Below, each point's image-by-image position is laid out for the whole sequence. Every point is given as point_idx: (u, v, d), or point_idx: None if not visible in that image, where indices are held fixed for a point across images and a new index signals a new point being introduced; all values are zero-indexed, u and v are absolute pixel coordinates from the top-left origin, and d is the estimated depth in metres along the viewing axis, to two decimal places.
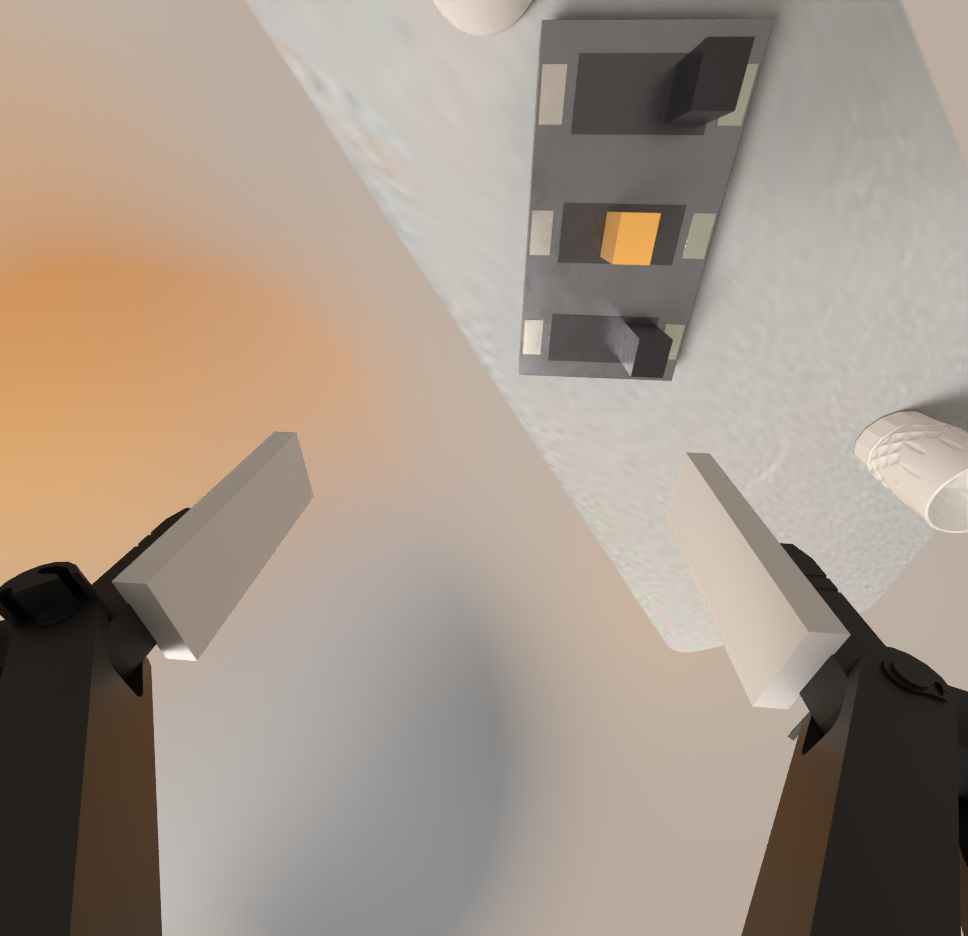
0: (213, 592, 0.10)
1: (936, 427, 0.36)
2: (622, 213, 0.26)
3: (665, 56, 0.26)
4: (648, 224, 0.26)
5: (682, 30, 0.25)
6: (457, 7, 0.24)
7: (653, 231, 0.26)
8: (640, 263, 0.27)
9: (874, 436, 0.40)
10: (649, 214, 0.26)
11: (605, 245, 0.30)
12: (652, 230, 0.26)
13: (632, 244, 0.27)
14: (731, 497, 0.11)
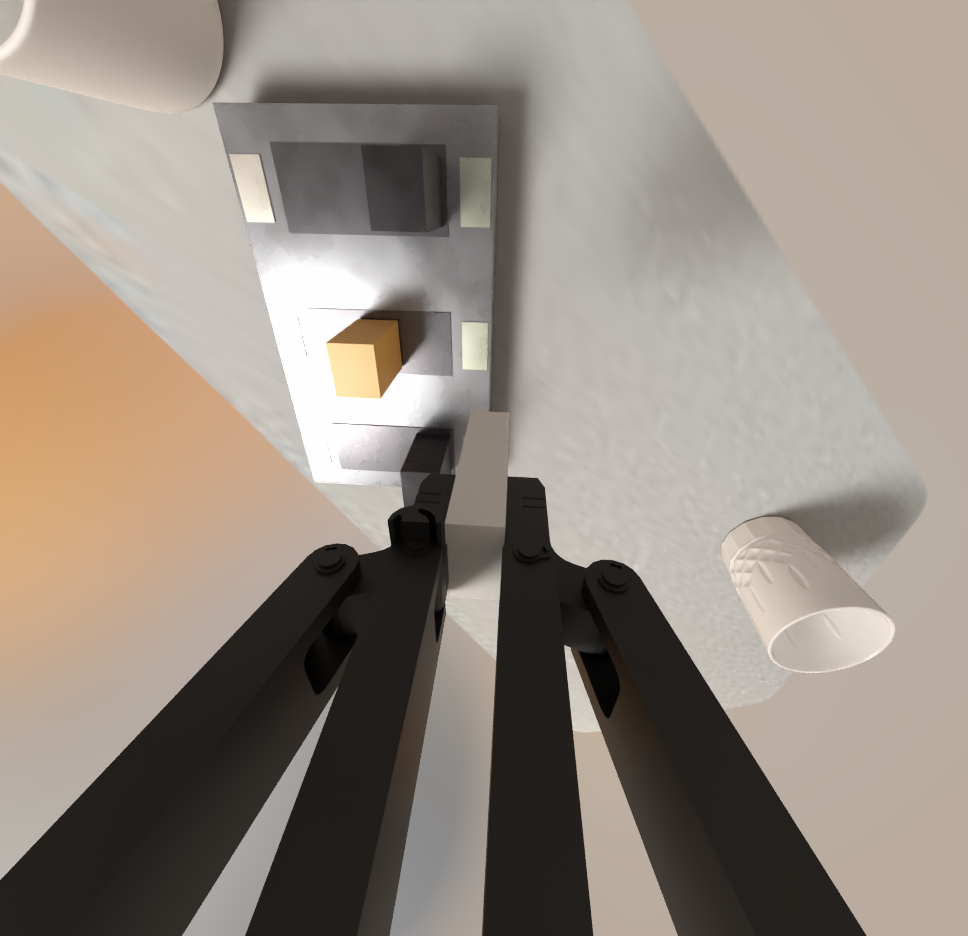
0: None
1: (791, 547, 0.32)
2: (327, 344, 0.21)
3: None
4: (362, 356, 0.21)
5: (388, 117, 0.20)
6: None
7: (371, 364, 0.21)
8: (369, 397, 0.22)
9: (734, 544, 0.35)
10: (360, 345, 0.21)
11: None
12: (370, 362, 0.21)
13: (351, 376, 0.21)
14: (498, 442, 0.13)
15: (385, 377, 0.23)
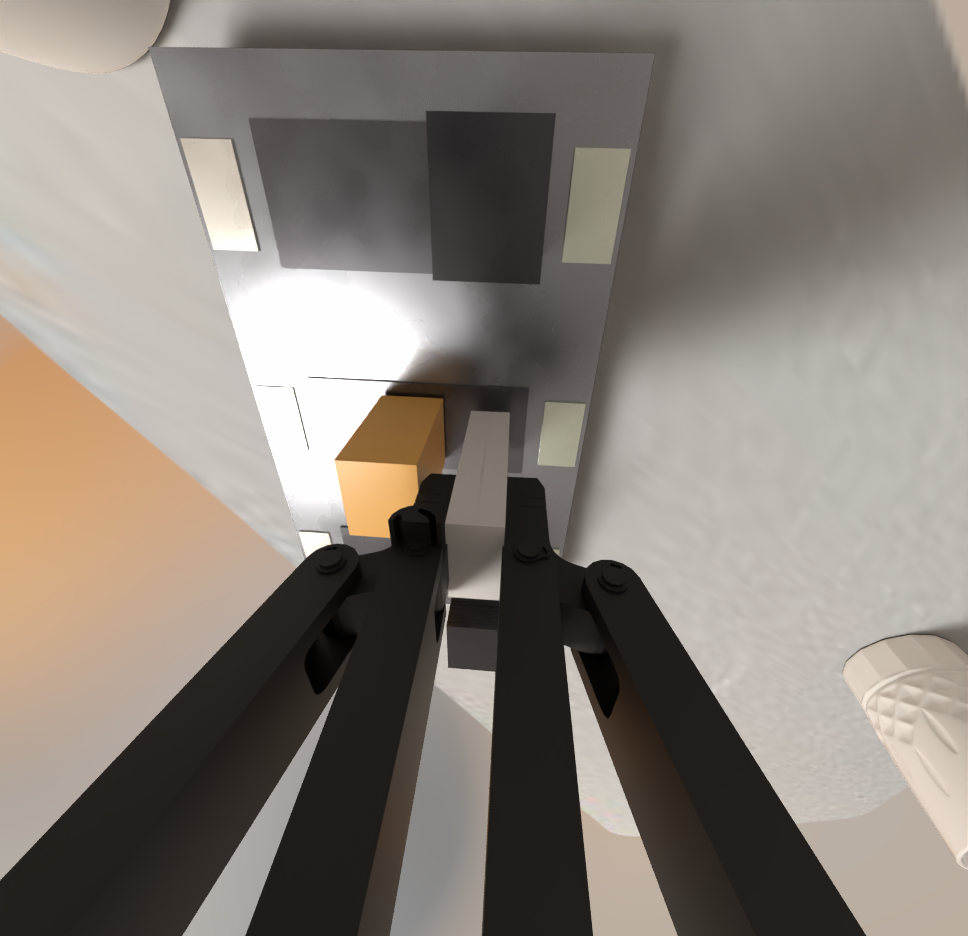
0: None
1: None
2: (336, 462, 0.12)
3: None
4: (397, 481, 0.12)
5: (456, 75, 0.11)
6: None
7: (411, 492, 0.12)
8: None
9: (873, 671, 0.26)
10: (393, 466, 0.12)
11: None
12: (408, 490, 0.12)
13: (376, 508, 0.13)
14: (498, 442, 0.13)
15: None
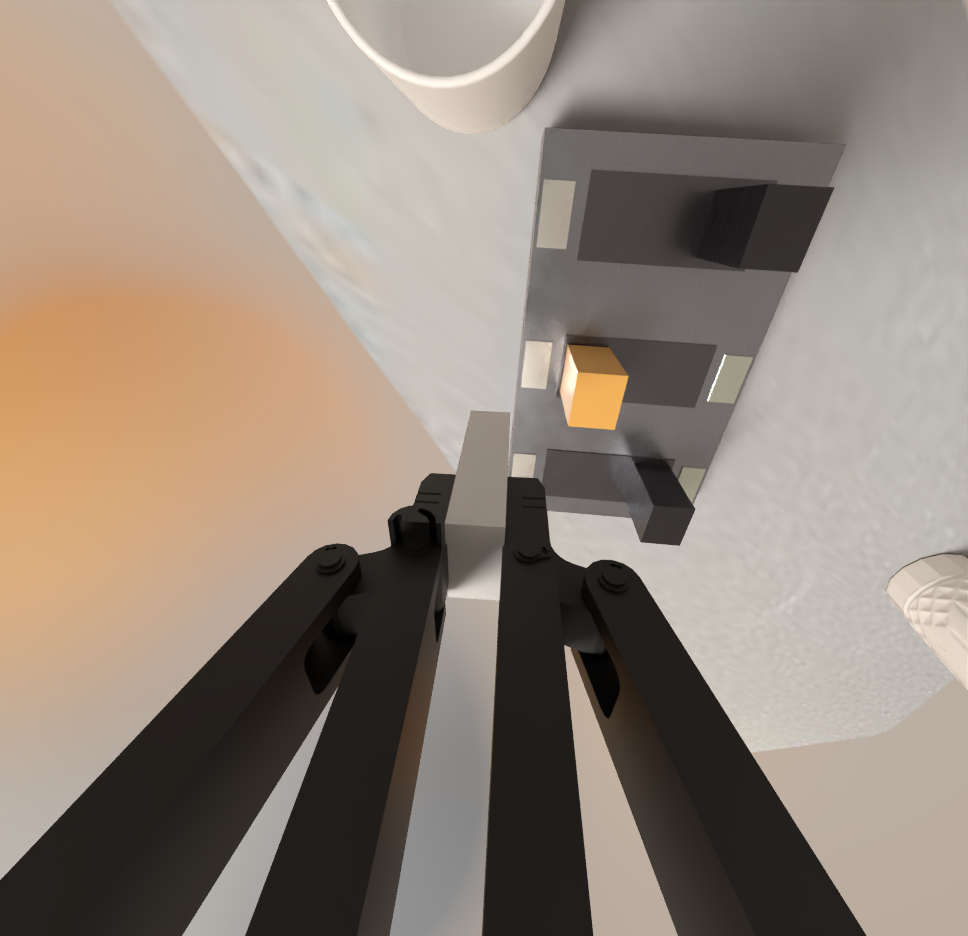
0: None
1: None
2: (579, 373, 0.20)
3: (701, 180, 0.20)
4: (612, 387, 0.20)
5: (726, 151, 0.19)
6: (431, 112, 0.18)
7: (619, 395, 0.20)
8: (603, 427, 0.21)
9: (913, 581, 0.35)
10: (613, 376, 0.20)
11: (564, 386, 0.24)
12: (617, 393, 0.20)
13: (592, 406, 0.21)
14: (498, 442, 0.13)
15: None
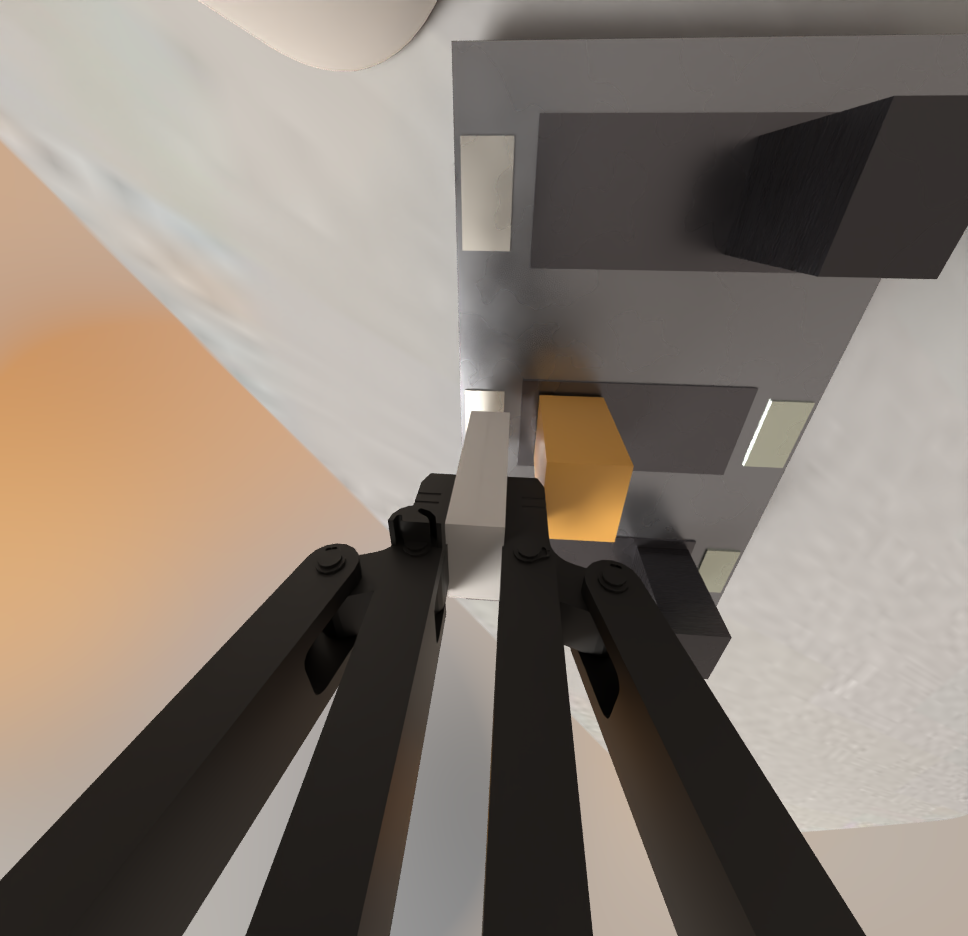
0: None
1: None
2: (549, 464, 0.12)
3: (732, 120, 0.11)
4: (607, 483, 0.12)
5: (777, 62, 0.11)
6: (226, 14, 0.09)
7: (619, 494, 0.12)
8: (595, 539, 0.13)
9: None
10: (608, 467, 0.12)
11: (536, 459, 0.16)
12: (616, 492, 0.12)
13: (575, 510, 0.13)
14: (498, 442, 0.13)
15: None
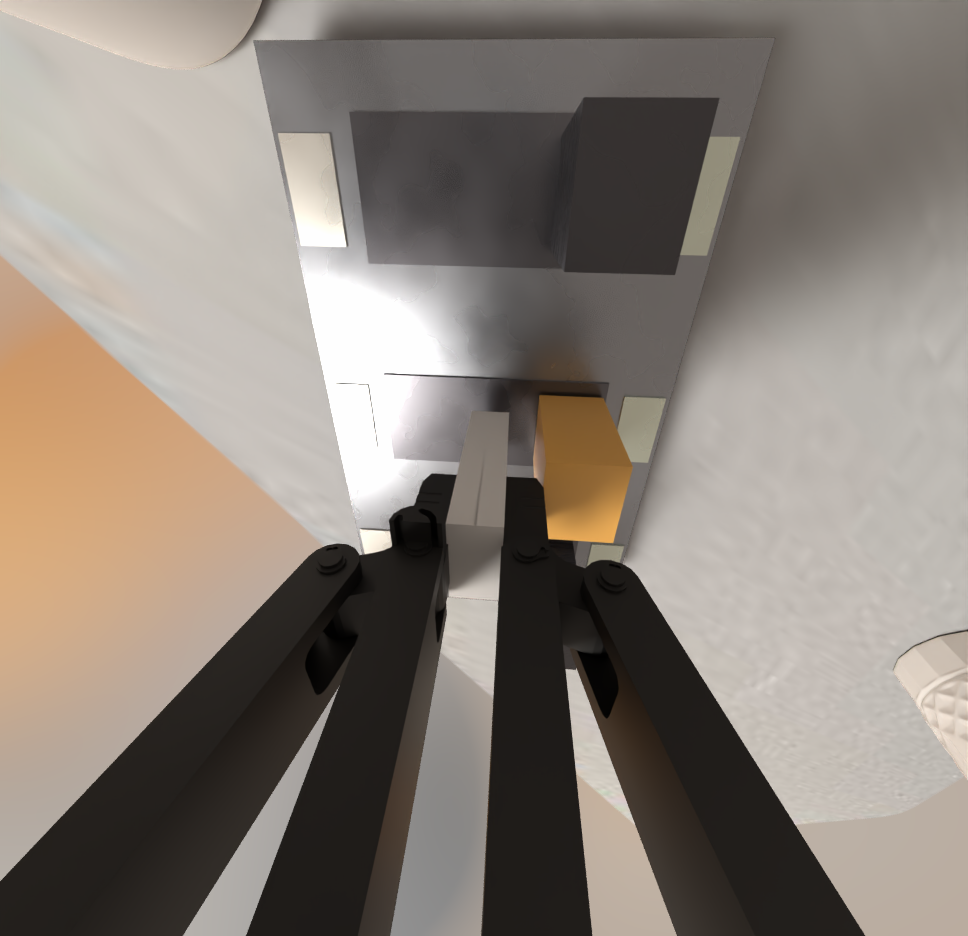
0: None
1: None
2: (548, 464, 0.12)
3: (534, 120, 0.12)
4: (606, 483, 0.12)
5: (566, 64, 0.11)
6: (6, 12, 0.10)
7: (618, 495, 0.12)
8: (593, 539, 0.13)
9: (929, 668, 0.26)
10: (607, 468, 0.12)
11: (536, 459, 0.16)
12: (615, 493, 0.12)
13: (574, 511, 0.13)
14: (497, 442, 0.13)
15: None
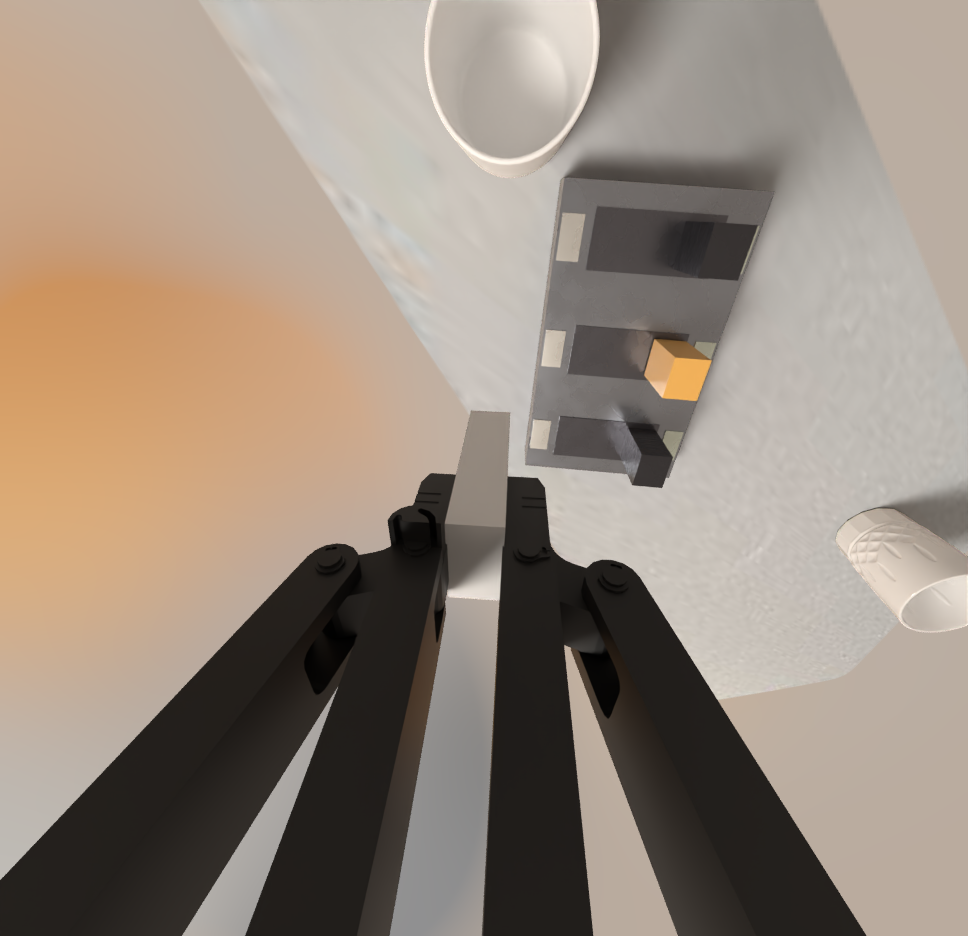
0: None
1: (911, 531, 0.39)
2: (676, 358, 0.28)
3: (675, 214, 0.28)
4: (699, 368, 0.28)
5: (692, 194, 0.27)
6: (487, 169, 0.26)
7: (703, 374, 0.28)
8: (688, 399, 0.29)
9: (854, 530, 0.43)
10: (701, 360, 0.28)
11: (652, 370, 0.32)
12: (702, 373, 0.28)
13: (682, 383, 0.29)
14: (498, 442, 0.13)
15: None
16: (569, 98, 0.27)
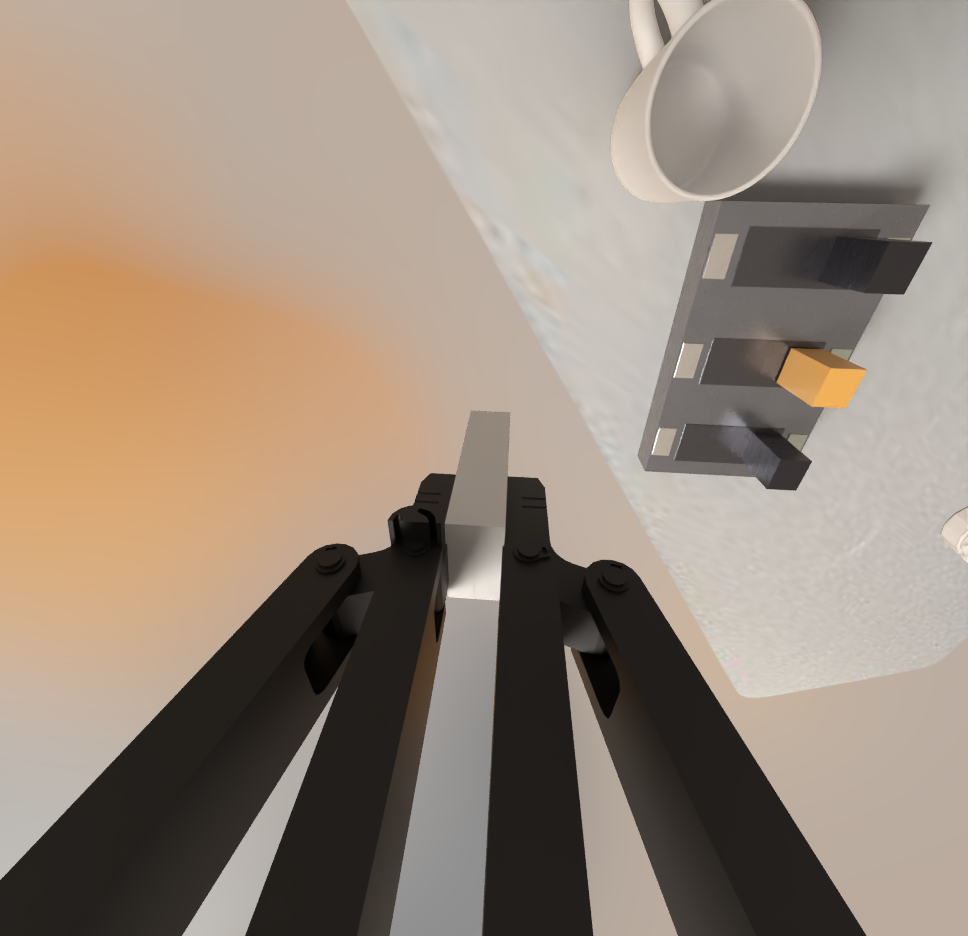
0: None
1: None
2: (831, 369, 0.29)
3: (827, 230, 0.29)
4: (853, 377, 0.29)
5: (846, 211, 0.28)
6: (656, 198, 0.27)
7: (856, 383, 0.29)
8: (837, 406, 0.30)
9: (965, 523, 0.43)
10: (856, 370, 0.29)
11: (790, 378, 0.33)
12: (855, 382, 0.29)
13: (834, 391, 0.30)
14: (498, 442, 0.13)
15: None
16: (727, 125, 0.28)
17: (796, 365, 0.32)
